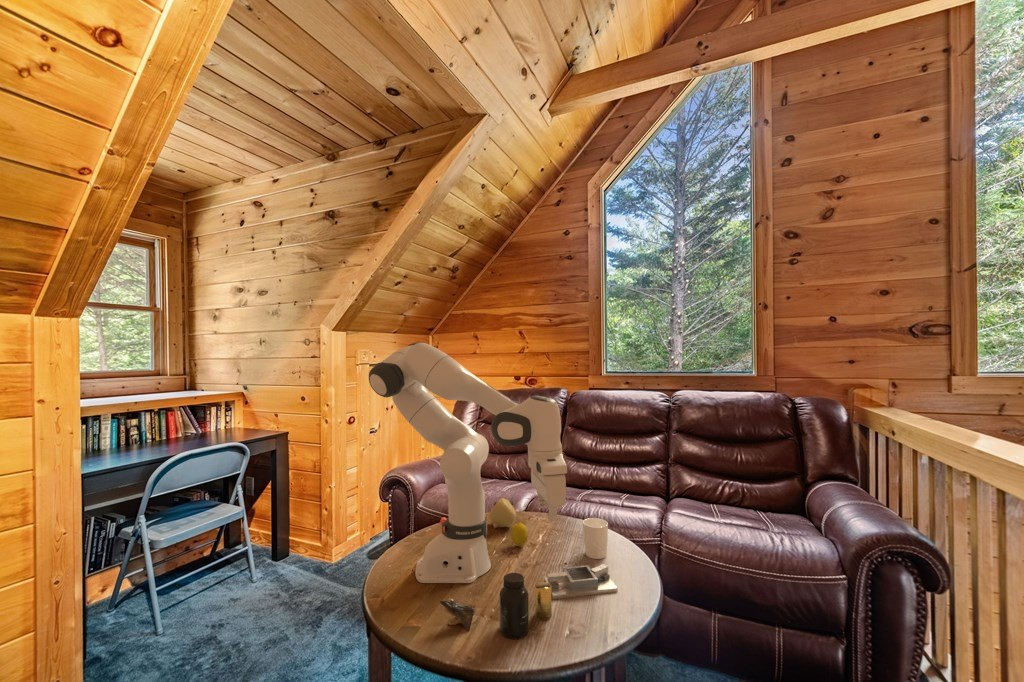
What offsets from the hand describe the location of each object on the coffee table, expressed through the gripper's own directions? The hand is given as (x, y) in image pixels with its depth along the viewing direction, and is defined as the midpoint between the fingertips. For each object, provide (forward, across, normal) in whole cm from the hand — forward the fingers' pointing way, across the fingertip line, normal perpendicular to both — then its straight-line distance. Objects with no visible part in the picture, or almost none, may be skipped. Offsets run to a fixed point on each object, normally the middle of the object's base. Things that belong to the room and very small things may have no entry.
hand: (547, 513), depth 106 cm
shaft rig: (+23, -7, +10) cm, 27 cm away
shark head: (+23, +2, -24) cm, 33 cm away
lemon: (+23, -34, -1) cm, 41 cm away
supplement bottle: (+23, +7, -11) cm, 27 cm away
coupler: (+23, +3, -3) cm, 24 cm away
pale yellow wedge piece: (+23, -51, -4) cm, 56 cm away
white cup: (+24, -24, +22) cm, 40 cm away
